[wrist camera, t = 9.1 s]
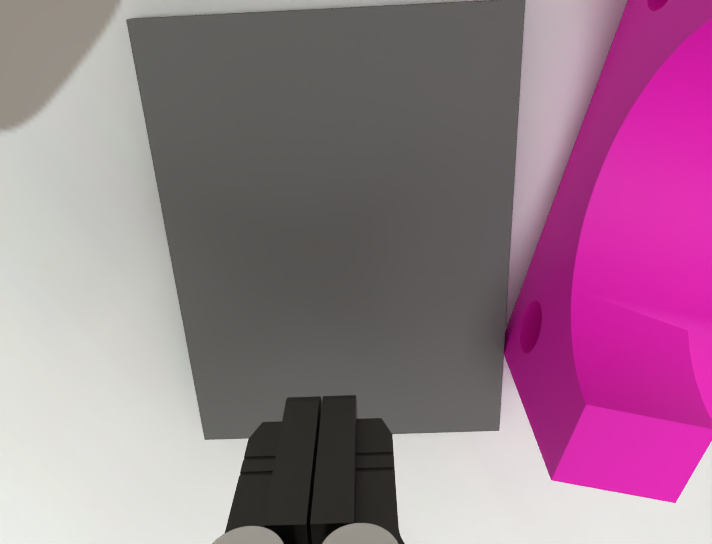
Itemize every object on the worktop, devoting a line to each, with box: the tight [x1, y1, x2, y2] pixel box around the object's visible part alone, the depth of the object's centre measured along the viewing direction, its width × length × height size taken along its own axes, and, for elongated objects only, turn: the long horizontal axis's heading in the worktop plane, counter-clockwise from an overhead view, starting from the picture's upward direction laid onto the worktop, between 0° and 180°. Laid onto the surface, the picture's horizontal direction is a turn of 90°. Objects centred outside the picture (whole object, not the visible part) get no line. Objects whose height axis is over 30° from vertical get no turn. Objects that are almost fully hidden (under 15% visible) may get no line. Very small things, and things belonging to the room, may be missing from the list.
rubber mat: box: [126, 0, 525, 440], centre depth 22 cm, size 16×12×1 cm
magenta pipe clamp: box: [504, 0, 712, 503], centre depth 18 cm, size 15×6×8 cm, turn 168°
